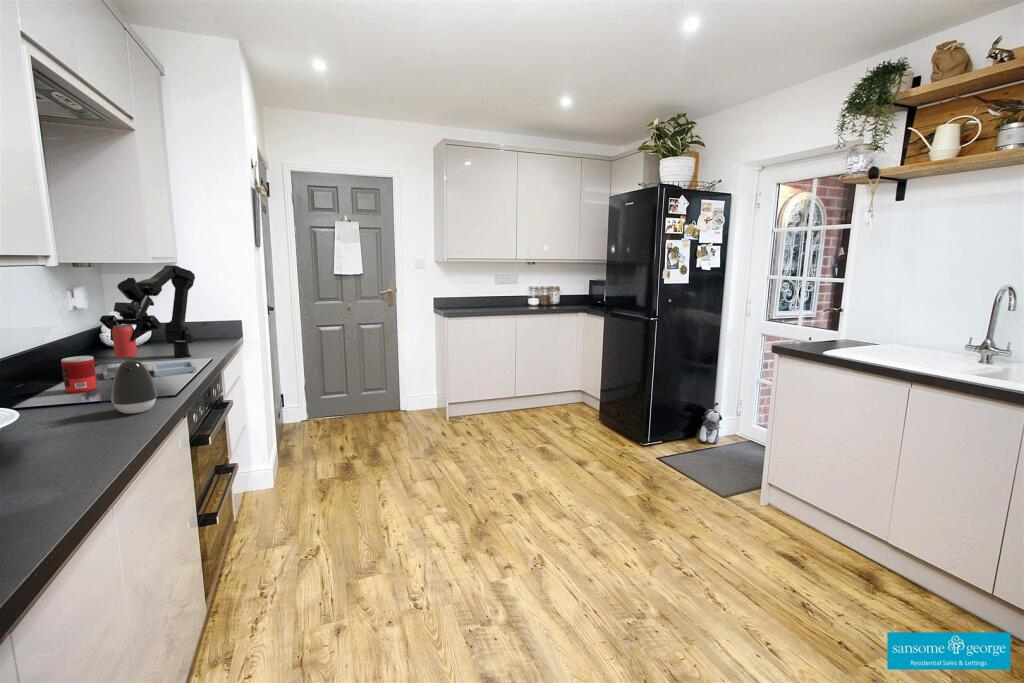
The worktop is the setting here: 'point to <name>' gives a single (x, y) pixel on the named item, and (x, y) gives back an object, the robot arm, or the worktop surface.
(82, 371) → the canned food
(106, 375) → the bay frame
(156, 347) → the worktop surface
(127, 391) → the grey egg-shaped dome
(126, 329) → the beer can
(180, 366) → the tray
